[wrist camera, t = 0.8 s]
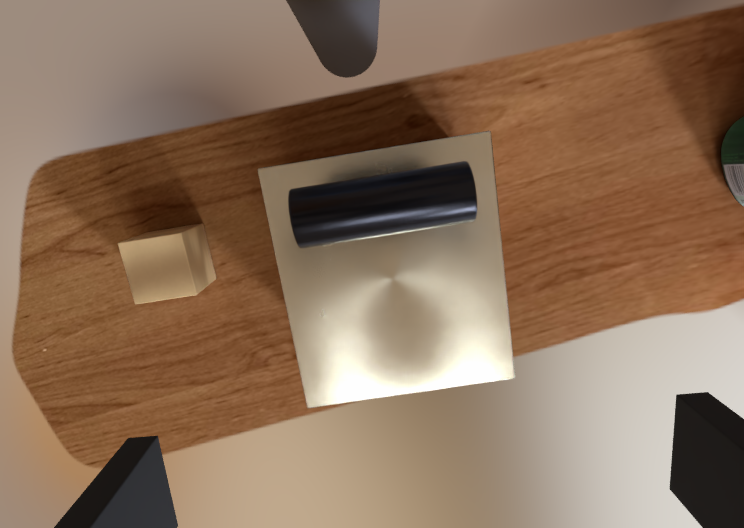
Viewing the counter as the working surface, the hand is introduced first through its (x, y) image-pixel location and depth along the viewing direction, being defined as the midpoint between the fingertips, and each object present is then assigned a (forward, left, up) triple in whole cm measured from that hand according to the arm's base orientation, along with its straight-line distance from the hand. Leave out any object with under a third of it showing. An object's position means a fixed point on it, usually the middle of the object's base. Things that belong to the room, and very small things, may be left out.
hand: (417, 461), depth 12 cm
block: (-2, -16, -26) cm, 31 cm away
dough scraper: (-1, 0, -16) cm, 16 cm away
